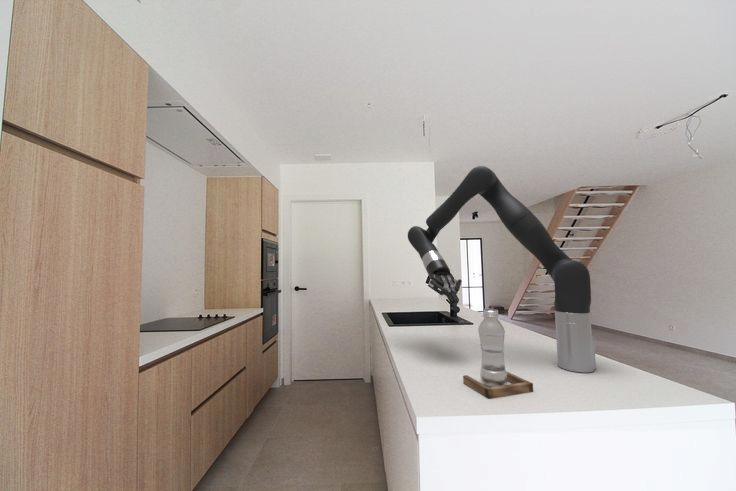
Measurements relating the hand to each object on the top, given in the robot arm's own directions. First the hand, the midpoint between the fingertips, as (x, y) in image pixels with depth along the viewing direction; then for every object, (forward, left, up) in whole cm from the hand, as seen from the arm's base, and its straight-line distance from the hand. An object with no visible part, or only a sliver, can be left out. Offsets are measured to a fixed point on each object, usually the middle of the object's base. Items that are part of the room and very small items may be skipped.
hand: (455, 303), depth 97 cm
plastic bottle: (+1, +18, -20) cm, 27 cm away
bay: (0, +18, -20) cm, 27 cm away
